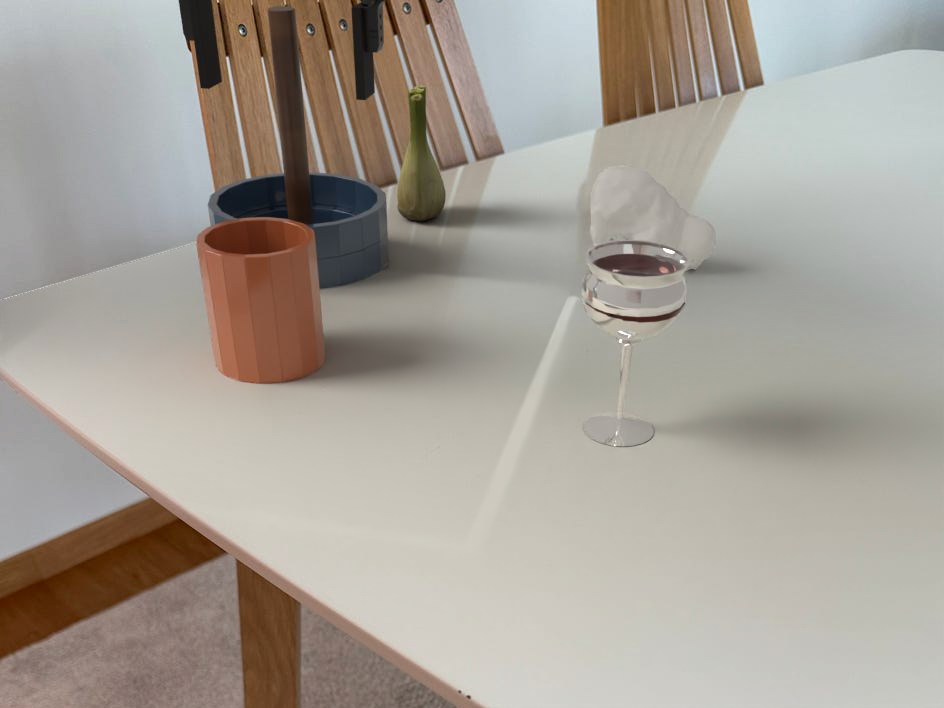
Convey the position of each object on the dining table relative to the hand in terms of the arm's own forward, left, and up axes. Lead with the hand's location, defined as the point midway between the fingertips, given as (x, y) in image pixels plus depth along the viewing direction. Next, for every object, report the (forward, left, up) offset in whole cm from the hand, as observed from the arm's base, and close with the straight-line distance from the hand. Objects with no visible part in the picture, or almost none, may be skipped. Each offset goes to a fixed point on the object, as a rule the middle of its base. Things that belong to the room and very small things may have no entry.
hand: (287, 91), depth 87 cm
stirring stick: (0, 0, -14) cm, 14 cm away
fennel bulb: (+7, +16, -15) cm, 23 cm away
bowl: (0, 0, -15) cm, 15 cm away
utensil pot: (+5, -21, -15) cm, 26 cm away
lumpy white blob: (+31, +8, -15) cm, 35 cm away
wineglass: (+32, -24, -15) cm, 43 cm away
